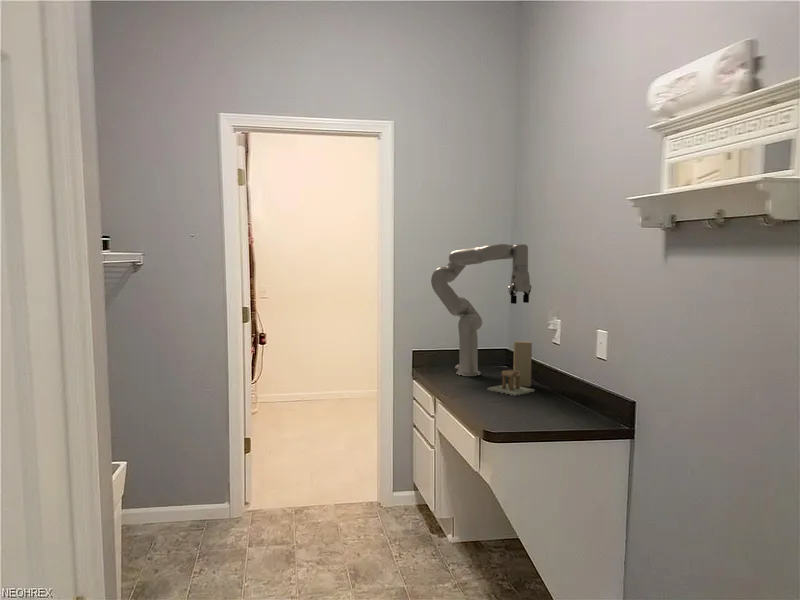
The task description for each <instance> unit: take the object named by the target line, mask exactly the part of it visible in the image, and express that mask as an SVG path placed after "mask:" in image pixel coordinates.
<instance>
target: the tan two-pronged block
mask: <svg viewBox="0 0 800 600" xmlns="http://www.w3.org/2000/svg"><path fill="white" fill-rule="evenodd" d="M507 377H508V380H507ZM514 377H516V389H520V387H521V386H520V371H515V370H513V369H507V370H502V371H501V379H502V382H501V385H502V389H506V384H508V387H510V390H514ZM507 381H508V383H507Z"/></svg>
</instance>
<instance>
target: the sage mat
mask: <svg viewBox="0 0 800 600" xmlns="http://www.w3.org/2000/svg"><path fill="white" fill-rule="evenodd" d="M489 390H490V391H489ZM487 391H489V392H494V391H495V393H498V392H500V393H499V394H503V393H505V394H504V395H507V394H510V395H509V396H512V395H514V396H513V397H517V396H516V395H518V396H521V394H522V395H525V394H530V392H531V393H534V391H535V389H534V388H530V387H525V386H520V389H516V386H515V385H514V390H510V387H508V383H506V389H502V384H501V385H495V386H489V387H487Z"/></svg>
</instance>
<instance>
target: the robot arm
mask: <svg viewBox="0 0 800 600" xmlns="http://www.w3.org/2000/svg"><path fill="white" fill-rule="evenodd" d="M510 259H512V273H511V277H510V278H511V279H510V285H508V286H507V289H508V293H509V295H510V304H513V305H514V304H515V305H516V304H517V300H518V299H517V298H518V297H517V294H518V292H519V293H520V292H522V293H523V295H522V303H523V304H525V303H526V304H528V303H530V294H531V291H532V287H533V286H532V285H531V279H530V278H531V277H530V272H529V266H528V265H529V246H528V244H521V243H519V244H508V243H507V244H506V243H499V244H491V245H484V246H477V247H476V246H475V247H468V248H463V249H457V250H453V251H451V252H450V253H449V256H448V261H449V262H448V263H447V265H446V266H440V267H438V268H436V269H434V271H433V273H432V275H431V279H430V283H431V287H432V289H433V291H434V293H435V295H437V297H438V298H439V300H440V301H441V302H442V304H443V306H445V309H447V311H448V312H449V313H450V315H452V316H454V317H458V318H460V319H459V320H458V324H457V325H458V326H457V328H458V337H459V338H458V339H459V344H458V345H459V348H458V349H459V355H458V356H459V360H458V361H459V364H456V365H455V366H454V368H455V369H457V371H456V375H457V374H458V375H457V376H460V375H462V376H461V377H476V376H477V375H478V376H480V375H481V371H479V369H478V368H479V367H478V363H479V362H478V360H479V358H478V357H479V353H478V350H479V349H478V348H479V347H478V346H479V344H478V342H479V341H478V332H477V331H478V330H479V329H481V328H482V324H483V320H482V317H481V315H480V314H479V313H478V311H477V309H476V308H475V307H474V306H473V304H472V303H471V302H470V301H469V300H468V299H466V298H465V297H459V296H458V294H457V293H456V292H455V290H454V289H453V288H452V287H451V286H450V285H449V283H452V282H453V281H455V279H456V278H457V277H458V276H459V275H460V274H461V273H462V271H463V270H464V269H465V267H466V266H468V265H470V266H471V265H477V264H478V265H479V264H482V263H484V262H491V261H498V260H510ZM478 376H477V377H478Z"/></svg>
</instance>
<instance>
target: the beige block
mask: <svg viewBox="0 0 800 600" xmlns="http://www.w3.org/2000/svg"><path fill="white" fill-rule="evenodd" d="M532 346H533V343H532V342H531V341H530V340H514V341H513V366H512V367H513V369H512V370H515V371H520V387H525V388H530V387H532V355H533V353H532V352H533V351H532V349H533V347H532ZM514 385H515V386H516V377H514Z"/></svg>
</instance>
